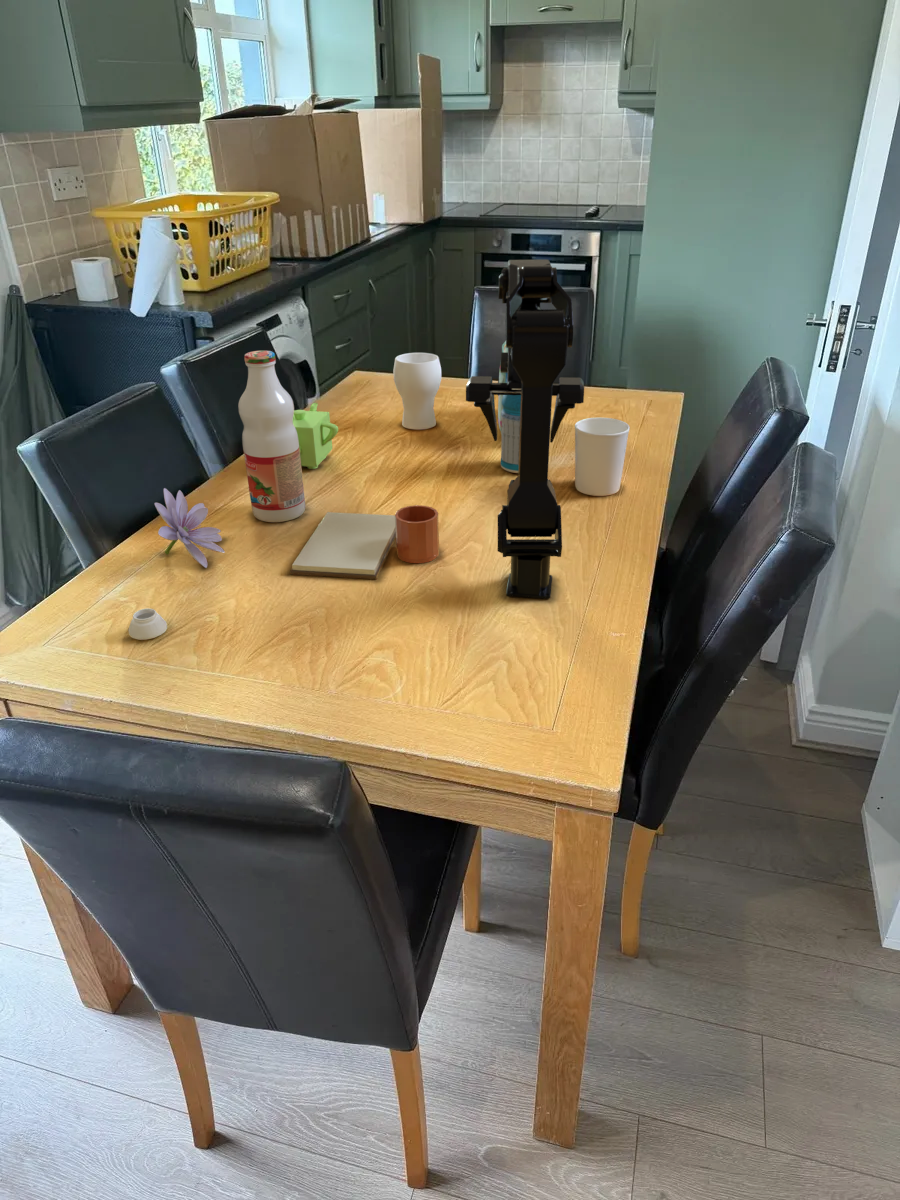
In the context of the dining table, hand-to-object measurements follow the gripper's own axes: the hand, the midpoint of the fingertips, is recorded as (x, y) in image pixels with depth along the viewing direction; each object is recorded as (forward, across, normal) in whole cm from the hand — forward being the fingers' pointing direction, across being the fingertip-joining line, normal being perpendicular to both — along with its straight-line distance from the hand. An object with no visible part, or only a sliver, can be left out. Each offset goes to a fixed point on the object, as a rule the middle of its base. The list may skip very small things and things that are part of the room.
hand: (523, 441), depth 140 cm
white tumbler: (+14, -14, -15) cm, 25 cm away
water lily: (+14, +52, +18) cm, 57 cm away
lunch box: (+13, +2, -50) cm, 51 cm away
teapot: (+14, +45, -24) cm, 53 cm away
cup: (+13, +25, -50) cm, 57 cm away
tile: (+14, +28, +13) cm, 34 cm away
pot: (+14, +16, +15) cm, 26 cm away
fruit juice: (+14, +43, +1) cm, 45 cm away
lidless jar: (+15, +50, +42) cm, 66 cm away
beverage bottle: (+14, +1, -24) cm, 28 cm away
